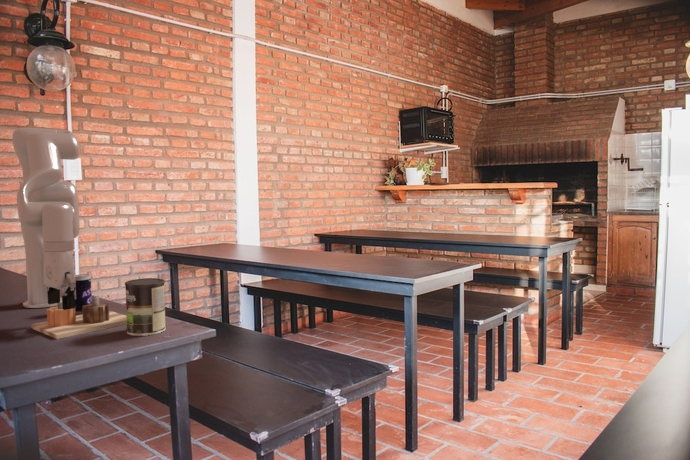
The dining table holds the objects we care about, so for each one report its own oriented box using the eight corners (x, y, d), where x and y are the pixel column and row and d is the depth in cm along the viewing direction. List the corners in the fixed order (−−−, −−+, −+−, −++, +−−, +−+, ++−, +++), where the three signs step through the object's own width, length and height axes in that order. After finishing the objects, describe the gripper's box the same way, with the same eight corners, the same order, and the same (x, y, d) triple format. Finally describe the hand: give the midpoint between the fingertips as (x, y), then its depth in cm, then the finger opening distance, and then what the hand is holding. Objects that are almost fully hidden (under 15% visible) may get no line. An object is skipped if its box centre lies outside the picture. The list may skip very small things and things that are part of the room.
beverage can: (84, 314, 162) (82, 277, 161) (68, 313, 163) (66, 276, 162) (96, 310, 167) (94, 274, 166) (81, 309, 168) (79, 273, 168)
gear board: (31, 328, 146) (29, 299, 145) (107, 313, 163) (106, 287, 162) (56, 339, 135) (55, 307, 135) (135, 322, 152) (134, 294, 152)
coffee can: (133, 338, 136) (131, 286, 134) (121, 330, 143) (119, 280, 142) (171, 331, 142) (170, 281, 141) (158, 324, 150) (156, 276, 149)
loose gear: (41, 325, 144) (40, 309, 144) (62, 319, 151) (61, 304, 151) (61, 327, 142) (61, 311, 142) (81, 321, 149) (80, 305, 149)
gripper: (32, 245, 148) (34, 303, 149) (57, 251, 137) (60, 313, 138) (59, 243, 153) (62, 299, 155) (86, 248, 143) (88, 308, 144)
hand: (61, 306), depth 147 cm, fingers open, 9 cm apart
